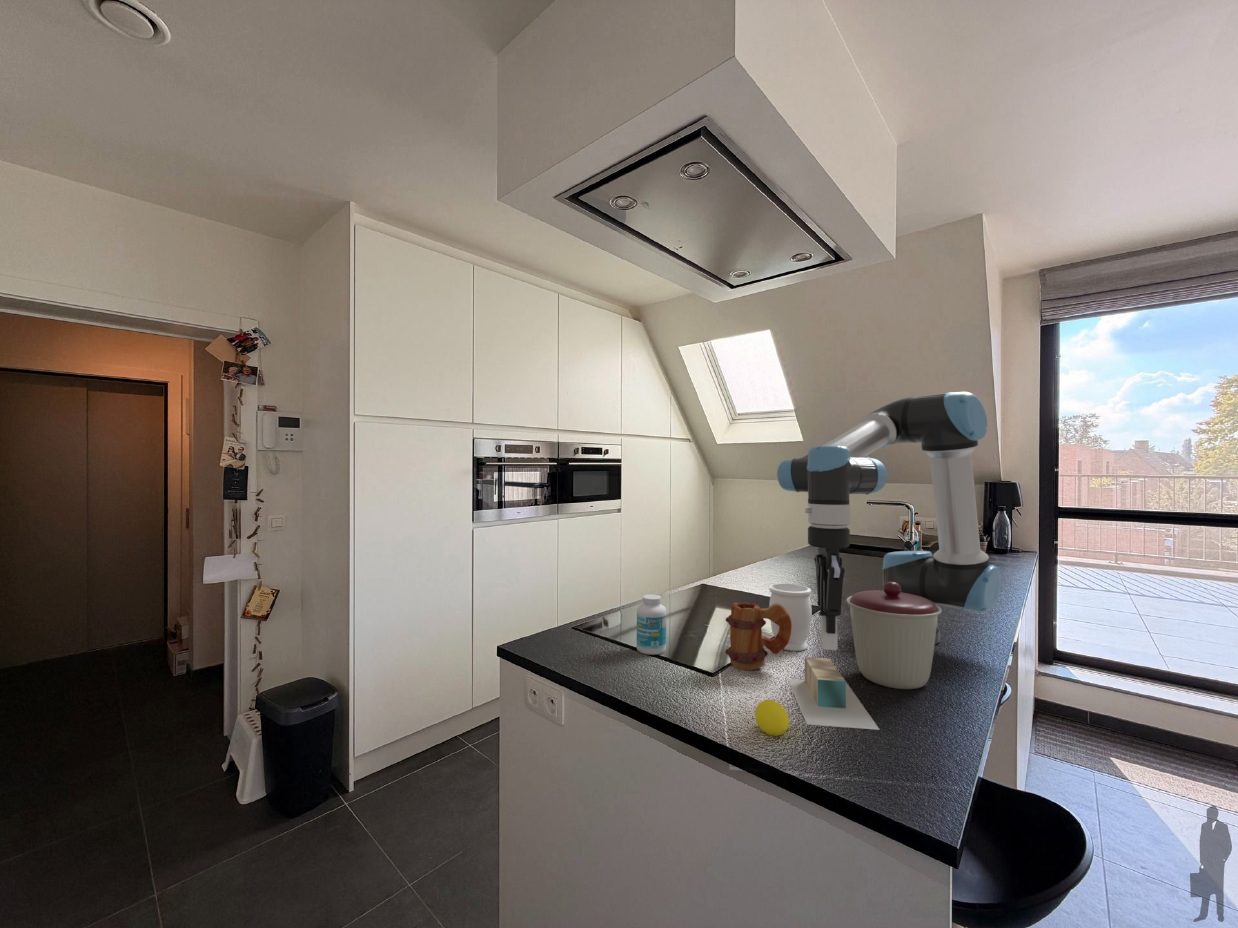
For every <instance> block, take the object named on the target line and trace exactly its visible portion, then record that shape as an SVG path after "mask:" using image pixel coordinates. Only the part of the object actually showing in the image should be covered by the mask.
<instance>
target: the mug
mask: <svg viewBox="0 0 1238 928" xmlns="http://www.w3.org/2000/svg"><path fill="white" fill-rule="evenodd" d="M730 612H731V613H730V615H728V617H726V618H725V621H726V623H728V625H729V626H730V629H729V630H730V635H729V637H730V639H729V641H730V644H729V646H728V648H726V649H725V651H724V653H725V654H726V655H727V656H728V657H729V659H730V661H729V662H730V664H731V665H732V666H733V667H734V668H736V669H739V670H740V671H741V670H743V671H756V670H758V669H761V668H763V667H764V666H765V664H766V662H765V660H766V657H768V654H769V652H768V651H766V650H765V648H766V649H767V650H769V651H770V652H771V653H772V654H774V655H778V654H780V653H781V652H782V651H784V648H785V647H786V645H787V644H788V642H789V639H790V635H791V627H792V624H791V618H790V616H789V614H788V612H787V611H786V609H785V608H784V607H783V606H782V605H781V604H778V603H775V604H773V605H771V606H770V607H769V606H768V607H766V608H762V607H760V606H759V605H758V604H757V603H753V602H752V603H749V602H733V603H732V604H731V610H730ZM765 619H768V620H769V621H770V622H771V621H772V622H774V623H775V624H777V625H779V632H778V634H777V635H776V637H775V636H774V637H773V638H769V637H767V636H764V635H763V634H762V633H763V630H762V629H763V627H764V626H765V625H766V624H767V621H766V620H765Z"/></svg>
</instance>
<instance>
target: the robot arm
mask: <svg viewBox="0 0 1238 928" xmlns="http://www.w3.org/2000/svg"><path fill="white" fill-rule="evenodd" d="M987 418H988V417H987V414H986V410H985V407H984V405H983V403H982V401H981V400H980V399H979V398H978V396H976V395H975V394H974V393H972V392H968V391H955V392H953V391H949V392H945V393H936V394H929V395H921V396H913V397H912V396H910V397H905V398H900V399H898V400H895V401H892V402H890V403H887V404H885V405H883V406H882V407H880V408H878V409H875V410H873V411H872V412H870V413H868V414H866V415H865V416H864V417H863V418H862V419H861V420H860V422H859V424H858V425H857V424H856V426H854V427H852V428H851V429H850V428H849V430H847V431H845V432H844V433H841V434H840V435H838V436H836V437H835V438H833V439H832V440H830V441H828V442H827V443H824V444H823V445H821V446H820V445H817V446H813V447H811V448H809V449H808V452H807V454H806V455H805V456H802V457H800V458H795V457H792V458H788V459H784V460H782V461H781V462H780V464H779V465H778V467H777V470H776V471H777V472H776V477H777V482H778V485H779V486H780V488H781V489H783V490H785V491H789V492H796V493H807V497H808V498H807V503H808V504H807V508H805V509H804V513H806V514H807V523H808V524H810V526H808V527H807V543H808V545H809V546H810V547H815V548H818V550H817V551H818V553H817V554H815V556H814V564H815V576H816V577H815V578H816V593H817V595H816V596H817V606H818V607H819V612H818V613H819V614H818V615H819V616H820V648H821V649H822V650H830V651H838V617H839V616H841V615H842V600H843V585H844V584H843V583H844V577H845V572H846V570H845V567H843V566H842V565H843V559H842V557H840V549H848V548H849V547H850V545H851V538H850V537H851V534H850V533H851V532H850V531H851V529H849V527H848V526H849V525H850V524H851V504H850V495H870V494H874V493H877V492H879V491H881V490H882V489H883V488H884V487H885V485H886V484H887V480H888V471H887V468H886V466H885V465H884V463H883V462H882V461H880V460H879V459H876V458H872V457H869V456H868V455H870V454H872V453H873V452H875V451H876V450H878V449H886V448H888V447H890V446H892V445H895V444H906V443H907V444H908V443H910V444H911V443H916V444H917V443H920V444H921V451H922V452H923V453H924V454H926V455H927V456H928V457H929V463H930V471H931V472H930V473H931V480H932V481H931V482H932V489H933V501H934V510H935V520H936V529H937V539H938V548H939V549H937V551H935V552H934V553H932V552H931V551H929V550H928V551H927V550H903V551H902V550H900V551H892V552H888V553H885V555H884V556H883V563H882V568H881V570H882V586H883V585H884V584H885V583H886V582H896V583H898V584H899V585H900V586H901V592H903V593H908V594H913V595H917V596H921V597H924V598H926V599H928V600H930V601H932V602H933V603H934V604H936V605H940V606H944V607H950V608H953V609H954V608H955V609H959V610H964V611H966V612H970V611H971V612H977V613H987V612H988V611H991V610H992V608H994V606H995V605H996V603H997V601H998V598H999V596H1000V593H1001V589H1002V580H1003V579H1002V573H1001V572H1002V571H1001V570H1000V568H999V567H998V566H995V565H994V564H990V557H989V555H988V554H987V552H985V551H984V550H982V549H981V541H980V540H981V539H980V531H979V521H978V510H977V500H976V491H975V490H976V489H975V479H974V470H973V469H974V466H973V459H972V456H973V455H972V454H973V452H974V451H975V450H976V449H978V447H979V440H982V439H983V438H985V436H986V434H987V430H988V429H987V428H988V419H987ZM882 590H883V589H882ZM883 591H884V590H883ZM940 642H941V632H940V629H939V625H938V624H937V628H936V636H935V645H936V644H939V643H940Z"/></svg>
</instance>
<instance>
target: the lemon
mask: <svg viewBox="0 0 1238 928" xmlns="http://www.w3.org/2000/svg"><path fill="white" fill-rule="evenodd" d="M754 717H755V721H756V724H757V725H758V727H759V728H760V730H761V731H762V732H763V733H766V735H769V736H772V737H773V736H774V737H778V736H781V735H784V734H785V733H786V732H787V730H788V729H789V725H790V718H789V717H790V715H789V713H788V712H787V710H786V708H785V707H784V706H783V705H781V704H780V702H778V701H775V700H773V699H764V700H762V701H760V702H759V703H758V704H757V705H756V707H755V711H754Z"/></svg>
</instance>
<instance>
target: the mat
mask: <svg viewBox="0 0 1238 928" xmlns="http://www.w3.org/2000/svg"><path fill="white" fill-rule="evenodd" d="M787 682H788V684H789V686H790V688H791V690H792V693H793V695H794V697H795V700H796V702H797V704H798V707H799V709H800V711H801V714H802V716H803V718H804V721H805V723H806V725H809V726H810V725H811V726H822V727H823V726H824V727H834V728H835V727H837V728H848V729H849V728H850V729H861V730H862V729H864V730H865V729H866V730H874V731H875V730H876V731H880V730H881V729H880V728H879V727H878V725H877V723H876V721H874V720H873V718H872V716H871V715H870V714H869V712H868V711H867V709H866V707H864V705H863V703H862V702H861V701H860V699H859V698H858V697H857V695H856V694H855V692H854V691H853V689H852V688H851V687H850V685H849V684H848V683H847V682H846V708H835V707H820V706H818V705H817V703H816V701H815V699H814V697H813V696H812V694H811V692H810V690H809V688H808V686H807V684H806V682H805V679H796V678H795V679H794V678H793V679H792V678H787Z"/></svg>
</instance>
